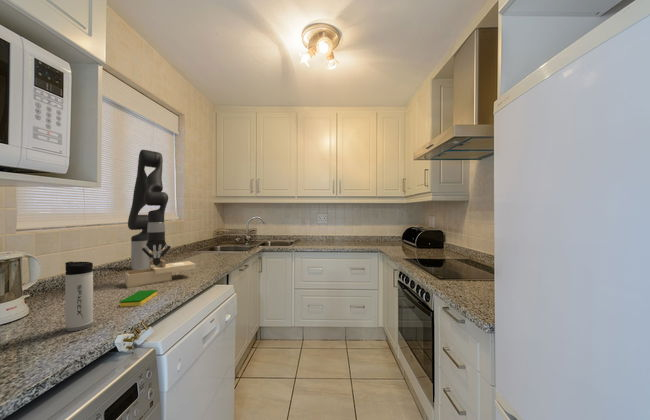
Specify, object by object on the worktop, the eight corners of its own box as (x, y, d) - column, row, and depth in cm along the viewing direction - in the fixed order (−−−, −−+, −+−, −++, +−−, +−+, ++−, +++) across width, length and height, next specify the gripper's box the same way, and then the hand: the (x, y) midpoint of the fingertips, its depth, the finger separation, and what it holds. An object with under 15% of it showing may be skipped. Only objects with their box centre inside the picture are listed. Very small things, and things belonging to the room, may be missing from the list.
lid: (150, 270, 138) (150, 260, 138) (188, 265, 151) (188, 255, 151) (155, 274, 130) (154, 263, 130) (195, 268, 143) (195, 258, 143)
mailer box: (124, 283, 130) (124, 271, 130) (166, 277, 143) (166, 266, 143) (127, 288, 123) (127, 275, 123) (171, 280, 135) (171, 269, 135)
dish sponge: (119, 308, 99) (119, 301, 99) (139, 296, 113) (139, 290, 113) (140, 306, 100) (140, 300, 100) (157, 295, 114) (157, 289, 114)
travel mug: (76, 323, 84) (75, 260, 84) (98, 322, 85) (98, 259, 85) (58, 332, 78) (57, 264, 78) (82, 331, 79) (81, 263, 79)
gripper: (169, 230, 143) (169, 262, 143) (139, 231, 134) (139, 266, 133) (172, 230, 137) (173, 264, 137) (142, 232, 128) (142, 268, 128)
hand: (156, 265), depth 135 cm, fingers closed
